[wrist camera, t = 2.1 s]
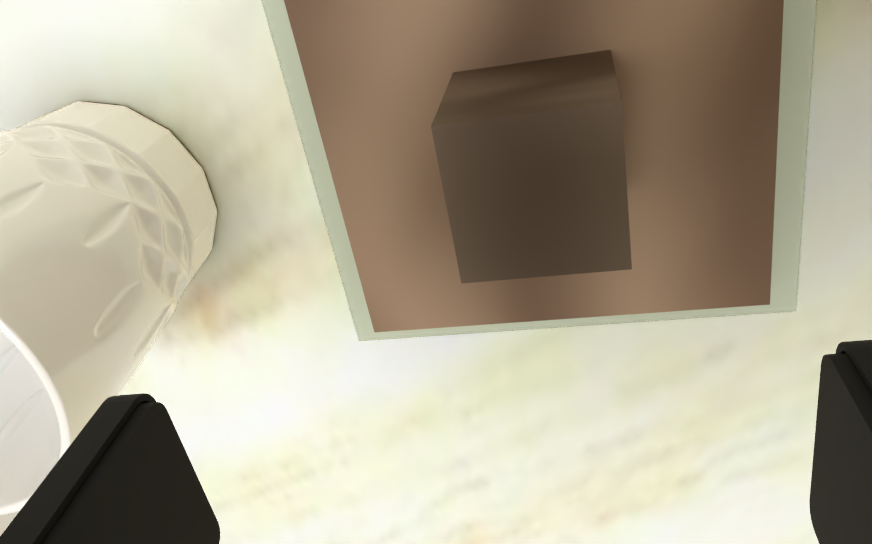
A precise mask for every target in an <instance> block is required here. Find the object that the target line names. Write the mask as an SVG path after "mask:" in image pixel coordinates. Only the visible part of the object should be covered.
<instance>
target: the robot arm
mask: <svg viewBox="0 0 872 544" xmlns="http://www.w3.org/2000/svg"><path fill="white" fill-rule="evenodd" d="M810 514H811V520H812V524H813V527H814V530H815V533H816V536H817V538H818V541H819V543H820V544H872V340H864V341H851V342H841V343H840V344H839V345H838V347H837V349H836V354H828V355H824V356H823V358H822V363H821V373H820V384H819V396H818V408H817V420H816V432H815V444H814V456H813V468H812V480H811V492H810ZM219 541H220V528H219V524H218V521H217V519H216V517H215V515H214V513H213V510H212V508H211V506H210V504H209V502H208V499H207V497H206V495H205V493H204V491H203V489H202V486H201V484H200V482H199V480H198V478H197V475H196V473H195V471H194V469H193V467H192V464H191V462H190V460H189V458H188V456H187V453H186V451H185V449H184V447H183V445H182V443H181V440H180V438H179V436H178V434H177V432H176V429H175V427H174V425H173V423H172V421H171V418H170V416H169V414H168V412H167V410H166V408H165V406H164V405H163V404H161V403H158V402H156V401H155V399H154V398H153V397H152V396H150V395H149V394H132V395H119V396H111V397H109V398H107V399H106V400H105V401H104V402H103V403H102V404H101V406H100V407H99V408H98V409H97V411H96V412H95V413H94V415H93V416H92V417H91V419H90V420H89V421H88V423H87V424H86V425H85V426H84V428H83V429H82V430H81V432H80V433H79V434H78V436H77V437H76V438H75V440H74V441H73V442H72V444H71V445H70V446H69V447H68V449H67V450H66V451H65V453H64V454H63V455H62V457H61V458H60V459H59V461H58V462H57V463H56V464H55V466H54V467H53V468H52V470H51V471H50V472H49V474H48V475H47V476H46V478H45V479H44V480H43V481H42V483H41V484H40V485H39V487H38V488H37V489H36V491H35V492H34V493H33V495H32V496H31V497H30V498H29V500H28V501H27V502H26V504H25V505H24V506H23V508H22V509H21V510H20V512H19V513H18V514H17V516H16V517H15V518H14V519H13V521H12V522H11V523H10V525H9V526H8V527H7V529H6V530H5V531H4V533H3V534H2V535H1V536H0V544H219Z"/></svg>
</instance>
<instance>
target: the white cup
mask: <svg viewBox="0 0 872 544" xmlns="http://www.w3.org/2000/svg"><path fill="white" fill-rule="evenodd" d="M216 218H217V208H216V205H215V203H214V200H213V197H212V194H211V191H210V188H209V185H208V182H207V179H206V176H205V174H204V171H203V169H202V167H201V166H200V165H199V164H198V163H197V161H196V160H195V159H194V158H193V157H192V156H191V155H190V153H189V152H188V151H187V150H186V149H185V148H184V146H183V145H182V144H181V143H180V142H179V141H178V140H177V138H176V137H175V136H174V135H173V134H172V133H171V132H170V131H169V130H168V129H166V128H164V127H162V126H160V125H158V124H157V123H155V122H153V121H151V120H149V119H148V118H146V117H144V116H142V115H140V114H138V113H137V112H135V111H133V110H131V109H129V108H128V107H125V106H119V105H110V104H101V103H91V102H82V101H77V102H74V103H72V104H69V105H67V106H65V107H62V108H60V109H58V110H55V111H53V112H51V113H48V114H46V115H44V116H41V117H39V118H37V119H35V120H33V121H31V122H29V123H27V124H25V125H23V126H21V127H18V128H16V129H13V130H7V131H0V515H4V514H9V513H14V512H18V511H20V510H21V509H22V508H23V506H24V505H25V504H26V502H27V501H28V500H29V498H30V497H31V496H32V495H33V493H34V492H35V491H36V489H37V488H38V487H39V485H40V484H41V483H42V481H43V480H44V479H45V478H46V476H47V475H48V474H49V472H50V471H51V470H52V468H53V467H54V466H55V464H56V463H57V462H58V461H59V459H60V458H61V457H62V455H63V454H64V453H65V451H66V450H67V449H68V447H69V446H70V445H71V444H72V442H73V441H74V440H75V438H76V437H77V436H78V434H79V433H80V432H81V430H82V429H83V428H84V426H85V425H86V424H87V423H88V421H89V420H90V419H91V417H92V416H93V415H94V413H95V412H96V411H97V409H98V408H99V407H100V406H101V404H102V403H103V402H104V401H105V400H106V399H107V398H109V397H111V396H119V395H120V394H121V392H122V391H123V389H124V388H125V387H126V385H127V384H128V382H129V381H130V379H131V378H132V376H133V375H134V373H135V372H136V370H137V369H138V367H139V366H140V365H141V363H142V361H143V360H144V358H145V357H146V355H147V353H148V352H149V350H150V348H151V347H152V345H153V343H154V342H155V341H156V339H157V337H158V336H159V334H160V333H161V331H162V330H163V328H164V327H165V325H166V324H167V322H168V320H169V319H170V317H171V315H172V314H173V312H174V311H175V309H176V307H177V304H178V302H179V300H180V298H181V296H182V293H183V291H184V290H185V288H186V287H187V285H188V284H189V282H190V281H191V279H192V278H193V276H194V275H195V274H196V272H197V271H198V269H199V268H200V267H201V265H202V264H203V262H204V261H205V259H206V258H207V257H208V255H209V254H210V252H211V250H212V246H213V239H214V232H215V225H216Z"/></svg>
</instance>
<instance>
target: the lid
mask: <svg viewBox="0 0 872 544" xmlns="http://www.w3.org/2000/svg"><path fill="white" fill-rule="evenodd" d="M284 3H285V6H286V10H287V14H288V17H289V21H290V25H291V28H292V32H293V36H294V39H295V43H296V47H297V50H298V54H299V58H300V61H301V65H302V69H303V72H304V76H305V80H306V83H307V87H308V91H309V94H310V98H311V102H312V105H313V109H314V113H315V116H316V120H317V124H318V127H319V131H320V135H321V138H322V142H323V146H324V149H325V153H326V157H327V160H328V164H329V168H330V171H331V175H332V179H333V182H334V186H335V190H336V193H337V197H338V201H339V204H340V208H341V212H342V215H343V219H344V223H345V226H346V230H347V234H348V237H349V241H350V245H351V248H352V252H353V256H354V259H355V263H356V267H357V270H358V274H359V278H360V281H361V285H362V289H363V292H364V296H365V300H366V304H367V307H368V311H369V315H370V318H371V322H372V326H373V329H374V332H388V331H402V330H417V329H431V328H445V327H459V326H473V325H488V324H502V323H516V322H530V321H544V320H559V319H573V318H587V317H601V316H615V315H629V314H644V313H658V312H672V311H686V310H700V309H715V308H729V307H743V306H757V305H770V294H771V272H772V250H773V228H774V206H775V184H776V162H777V140H778V118H779V96H780V73H781V51H782V29H783V7H784V0H284Z"/></svg>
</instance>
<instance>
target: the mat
mask: <svg viewBox="0 0 872 544" xmlns="http://www.w3.org/2000/svg"><path fill="white" fill-rule="evenodd" d="M261 1H262V4H263V8H264V11H265V15H266V18H267V22H268V25H269V29H270V32H271V36H272V39H273V42H274V46H275V49H276V53H277V56H278V60H279V63H280V67H281V70H282V74H283V77H284V81H285V84H286V88H287V91H288V95H289V98H290V102H291V105H292V109H293V112H294V116H295V119H296V123H297V126H298V130H299V133H300V137H301V140H302V144H303V147H304V151H305V154H306V158H307V161H308V164H309V168H310V171H311V175H312V178H313V182H314V185H315V189H316V192H317V196H318V199H319V203H320V206H321V210H322V213H323V217H324V220H325V224H326V227H327V231H328V234H329V238H330V241H331V245H332V248H333V252H334V255H335V259H336V262H337V266H338V269H339V273H340V276H341V280H342V283H343V286H344V290H345V293H346V297H347V300H348V304H349V307H350V311H351V314H352V318H353V321H354V325H355V328H356V332H357V335H358V339H359V341H367V340H382V339H397V338H411V337H426V336H441V335H455V334H470V333H484V332H499V331H514V330H528V329H543V328H558V327H572V326H587V325H602V324H616V323H631V322H646V321H660V320H675V319H690V318H704V317H719V316H733V315H748V314H763V313H777V312H792V311H796V304H797V289H798V274H799V259H800V244H801V229H802V214H803V199H804V183H805V168H806V153H807V138H808V123H809V108H810V93H811V78H812V63H813V48H814V32H815V17H816V2H817V0H784V7H783V29H782V51H781V73H780V96H779V118H778V140H777V162H776V184H775V206H774V228H773V250H772V272H771V294H770V305H757V306H743V307H729V308H715V309H700V310H686V311H672V312H658V313H644V314H629V315H615V316H601V317H587V318H573V319H559V320H544V321H530V322H516V323H502V324H488V325H473V326H459V327H445V328H431V329H417V330H402V331H388V332H374V329H373V326H372V322H371V318H370V315H369V311H368V307H367V304H366V300H365V296H364V292H363V289H362V285H361V281H360V278H359V274H358V270H357V267H356V263H355V259H354V256H353V252H352V248H351V245H350V241H349V237H348V234H347V230H346V226H345V223H344V219H343V215H342V212H341V208H340V204H339V201H338V197H337V193H336V190H335V186H334V182H333V179H332V175H331V171H330V168H329V164H328V160H327V157H326V153H325V149H324V146H323V142H322V138H321V135H320V131H319V127H318V124H317V120H316V116H315V113H314V109H313V105H312V102H311V98H310V94H309V91H308V87H307V83H306V80H305V76H304V72H303V69H302V65H301V61H300V58H299V54H298V50H297V47H296V43H295V39H294V36H293V32H292V28H291V25H290V21H289V17H288V14H287V10H286V6H285V3H284V0H261Z"/></svg>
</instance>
